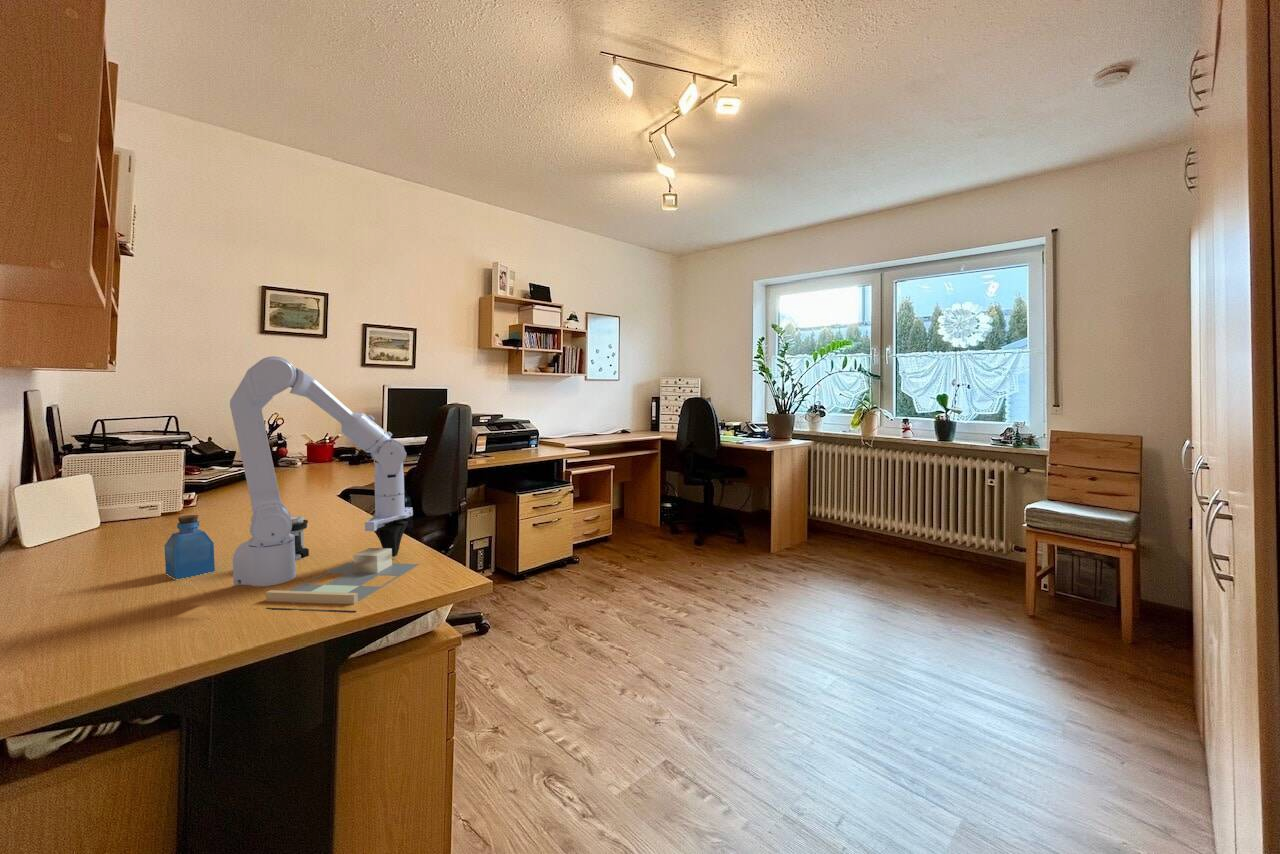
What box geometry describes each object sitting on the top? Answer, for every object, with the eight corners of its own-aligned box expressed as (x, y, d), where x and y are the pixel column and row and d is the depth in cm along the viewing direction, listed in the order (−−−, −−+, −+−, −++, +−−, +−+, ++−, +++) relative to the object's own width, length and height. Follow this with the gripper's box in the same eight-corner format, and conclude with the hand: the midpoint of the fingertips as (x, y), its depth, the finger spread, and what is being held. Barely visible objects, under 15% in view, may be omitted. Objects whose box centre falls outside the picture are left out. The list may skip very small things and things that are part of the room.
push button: (282, 569, 106) (280, 522, 106) (268, 565, 109) (266, 520, 108) (314, 560, 112) (313, 516, 112) (300, 557, 115) (298, 514, 114)
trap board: (266, 609, 85) (265, 592, 85) (348, 569, 106) (348, 555, 106) (354, 612, 84) (353, 595, 84) (419, 571, 105) (419, 557, 105)
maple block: (353, 572, 100) (353, 555, 100) (369, 564, 105) (369, 547, 105) (377, 572, 99) (377, 555, 99) (392, 564, 104) (391, 548, 104)
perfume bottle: (214, 571, 105) (212, 515, 104) (176, 580, 100) (173, 521, 99) (203, 566, 108) (201, 512, 108) (165, 574, 103) (163, 517, 103)
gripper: (387, 500, 100) (389, 567, 101) (424, 488, 115) (426, 546, 115) (354, 500, 101) (356, 566, 101) (395, 488, 115) (397, 546, 116)
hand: (391, 555), depth 108 cm, fingers closed
